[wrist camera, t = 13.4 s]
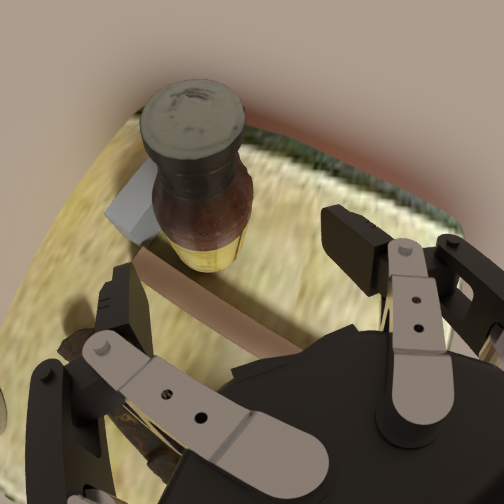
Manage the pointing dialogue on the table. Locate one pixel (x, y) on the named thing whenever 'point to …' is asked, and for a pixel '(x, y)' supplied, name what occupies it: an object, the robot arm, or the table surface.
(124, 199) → the end stop
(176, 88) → the sauce bottle
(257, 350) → the walnut straightedge
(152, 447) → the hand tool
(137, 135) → the table surface
